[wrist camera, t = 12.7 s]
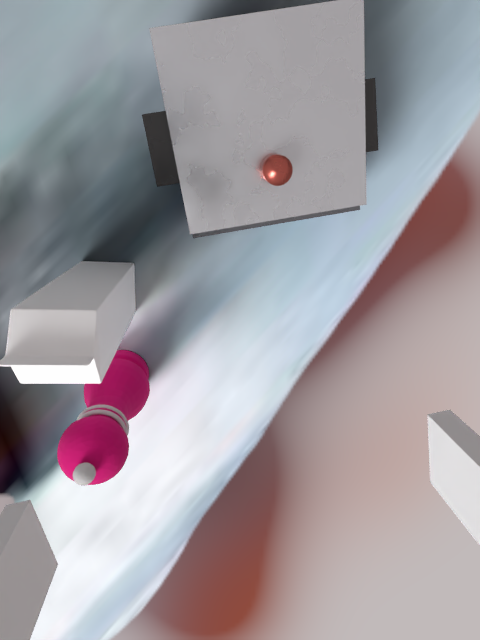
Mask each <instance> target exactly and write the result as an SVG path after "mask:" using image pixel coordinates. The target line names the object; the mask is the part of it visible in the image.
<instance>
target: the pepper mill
mask: <svg viewBox="0 0 480 640" xmlns="http://www.w3.org/2000/svg"><path fill="white" fill-rule="evenodd" d="M148 378H149V369H148V366H147V364H146V362H145V361H144V359H143V358H142V357H141V356H139V355H138V354H136V353H134V352H131V351H127V350H117V351H116V353H115V356H114V358H113V360H112V362H111V364H110V366H109V368H108V370H107V372H106V374H105V376H104V378H103V380H102V382H101V383H100V384H85V386H84V398H85V403H86V405H87V409H85V410H84V411H83V412H82V413H81V414H80V415H79V416H78V418H77V420H76V421H75V422H74V423H72V424H71V425H70V426H69V427H68V428H67V429H66V430H65V432H64V433H63V435H62V437H61V439H60V442H59V445H58V451H57V456H58V462H59V465H60V467H61V469H62V471H63V472H64V473H65V474H66V476H67V477H69V478H70V479H71V480H73V481H75V483H77V484H78V485H94V484H100V483H103V482H106V481H108V480H109V479H111V478H113V477H114V476H115V475H116V474H117V473H118V472H119V471H120V470H121V469H122V467H123V465H124V463H125V461H126V459H127V456H128V450H129V443H128V438H127V435H128V432H129V425H128V420H130V419H131V418H133V417H134V416H136V415H137V414H138V413H139V412H140V411H141V410H142V408H143V407H144V405H145V403H146V401H147V399H148V396H149V391H150V388H149V381H148Z"/></svg>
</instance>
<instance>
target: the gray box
mask: <svg viewBox="0 0 480 640" xmlns="http://www.w3.org/2000/svg"><path fill="white" fill-rule="evenodd" d="M142 117H143V122H144V127H145V131H146V136H147V141H148V146H149V150H150V155H151V160H152V165H153V169H154V174H155V179H156V184H157V187H158V186H164V185H171V184H177V183H180V181H179V176H178V171H177V166H176V161H175V156H174V151H173V145H172V140H171V135H170V130H169V125H168V120H167V115H166V111H162V112H156V113H150V114H143V115H142ZM365 133H366V152H371V151H376V150H378V136H377V112H376V89H375V78H372V79H366V80H365ZM355 210H360V206H354V207H348V208H342V209H337V210H331V211H325V212H319V213H313V214H307V215H301V216H296V217H290V218H284V219H278V220H272V221H266V222H260V223H254V224H249V225H243V226H237V227H231V228H225V229H219V230H213V231H207V232H202V233H196V234H193V238H197V237H203V236H209V235H214V234H220V233H226V232H232V231H238V230H244V229H250V228H255V227H261V226H267V225H273V224H279V223H285V222H291V221H296V220H302V219H308V218H314V217H320V216H326V215H332V214H337V213H343V212H349V211H355Z"/></svg>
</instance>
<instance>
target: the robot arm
mask: <svg viewBox="0 0 480 640" xmlns="http://www.w3.org/2000/svg"><path fill="white" fill-rule="evenodd" d="M428 438H429V461H430V482H431V484H432V485H433V486H434V487H435V489H436V490H437V491H438V493H439V494H440V495H441V496H442V498H443V499H444V500H445V502H446V503H447V504H448V505H449V507H450V508H451V509H452V511H453V512H454V513H455V514H456V516H457V517H458V518H459V520H460V521H461V522H462V523H463V525H464V526H465V527H466V529H467V530H468V531H469V532H470V534H471V535H472V536H473V538H474V539H475V540H476V541H477V543H478V544H479V545H480V436H479V435H478V434H477V433H475V432H474V431H473V430H472V429H471V428H470V427H469V426H467V425H466V424H465V423H464V422H463V421H462V420H461V419H460V418H459V417H458V416H456V415H455V414H454V413H453V412H452V411H451V410H447V411H442V412H437V413H433V414H428ZM57 565H58V563H57V561H56V559H55V556H54V554H53V552H52V549H51V547H50V545H49V542H48V540H47V538H46V535H45V533H44V531H43V528H42V526H41V524H40V521H39V519H38V517H37V515H36V512H35V510H34V508H33V505H32V503H31V501H30V500H28V501H23V502H18V503H14V504H9V505H6V507H5V508H4V510H3V511H2V513H1V515H0V640H30V638H31V635H32V632H33V630H34V627H35V624H36V622H37V619H38V616H39V613H40V611H41V608H42V605H43V603H44V600H45V597H46V595H47V592H48V589H49V587H50V584H51V581H52V579H53V576H54V573H55V571H56V568H57Z"/></svg>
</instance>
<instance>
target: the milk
mask: <svg viewBox="0 0 480 640" xmlns="http://www.w3.org/2000/svg"><path fill="white" fill-rule="evenodd" d="M135 312H136V303H135V268H134V263H124V262H93V261H81V262H80V263H78V264H77V265H75V266H74V267H72V268H71V269H69V270H68V271H66V272H65V273H63V274H62V275H60V276H59V277H57V278H56V279H54V280H53V281H52V282H50V283H49V284H47V285H46V286H44V287H43V288H41V289H40V290H38V291H37V292H35V293H34V294H32V295H31V296H29V297H28V298H26V299H25V300H23V301H22V302H21V303H19V304H18V305H16V306H15V307H13V308H12V309H11V312H10V321H9V329H8V338H7V347H6V355H5V357H4V358H2V359H1V360H0V366H11V367H12V369H13V371H14V373H15V375H16V376H17V378H18V380H19V382H20V383H64V384H100V383H101V382H102V380H103V378H104V376H105V374H106V372H107V370H108V368H109V366H110V364H111V362H112V360H113V358H114V356H115V353H116V351H117V349H118V347H119V345H120V343H121V341H122V339H123V337H124V335H125V333H126V331H127V329H128V327H129V324H130V322H131V320H132V318H133V316H134V314H135Z"/></svg>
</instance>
